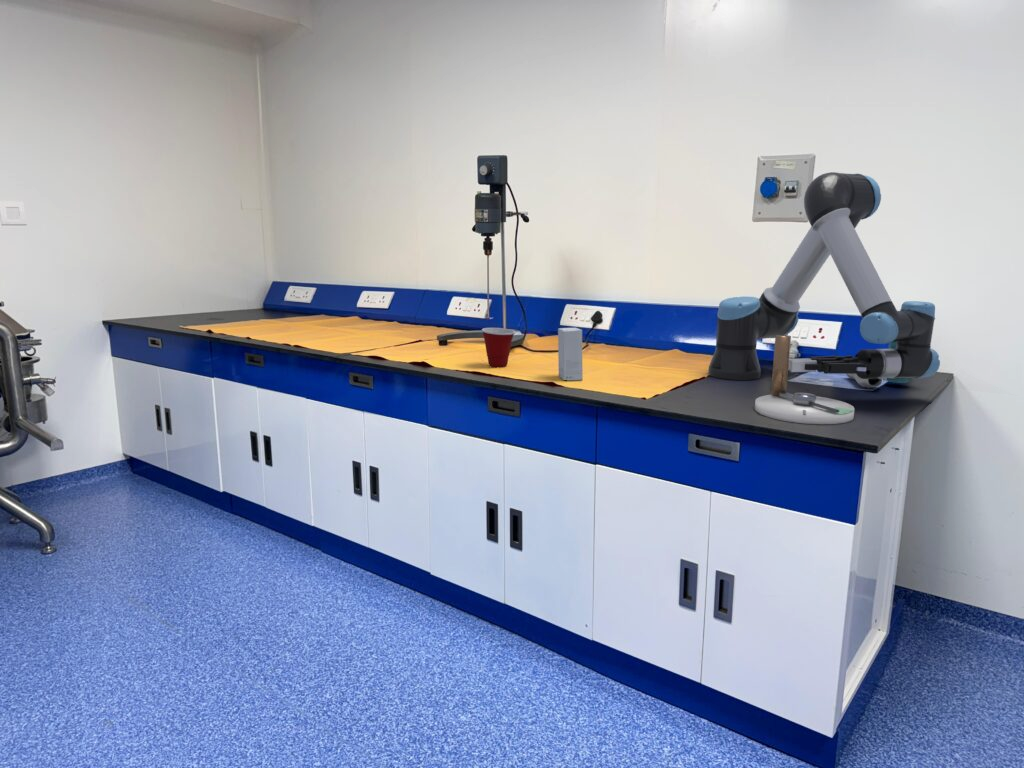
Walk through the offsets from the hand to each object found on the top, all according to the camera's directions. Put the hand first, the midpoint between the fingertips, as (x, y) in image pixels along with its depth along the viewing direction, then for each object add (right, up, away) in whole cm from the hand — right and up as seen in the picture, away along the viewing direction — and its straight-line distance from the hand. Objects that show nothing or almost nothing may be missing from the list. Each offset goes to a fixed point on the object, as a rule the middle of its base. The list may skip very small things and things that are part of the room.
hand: (788, 365), depth 174 cm
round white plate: (+1, -11, -6) cm, 13 cm away
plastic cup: (-73, +1, +52) cm, 90 cm away
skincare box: (-52, -3, +33) cm, 62 cm away
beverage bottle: (+40, -5, +24) cm, 47 cm away
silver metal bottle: (+33, 0, +35) cm, 48 cm away
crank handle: (+1, -9, -7) cm, 11 cm away
